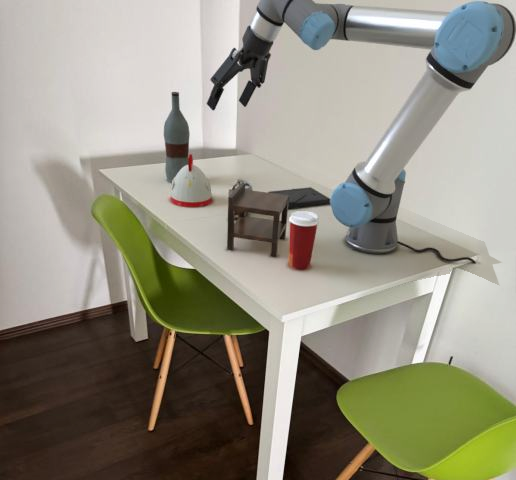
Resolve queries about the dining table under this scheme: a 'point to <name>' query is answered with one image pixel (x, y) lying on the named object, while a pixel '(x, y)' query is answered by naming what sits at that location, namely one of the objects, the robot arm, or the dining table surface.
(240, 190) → the rack
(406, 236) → the dining table surface
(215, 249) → the dining table surface
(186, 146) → the bottle
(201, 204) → the kitchen timer
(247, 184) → the food container
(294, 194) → the picture frame
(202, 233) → the dining table surface
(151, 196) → the dining table surface
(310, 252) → the paper cup
